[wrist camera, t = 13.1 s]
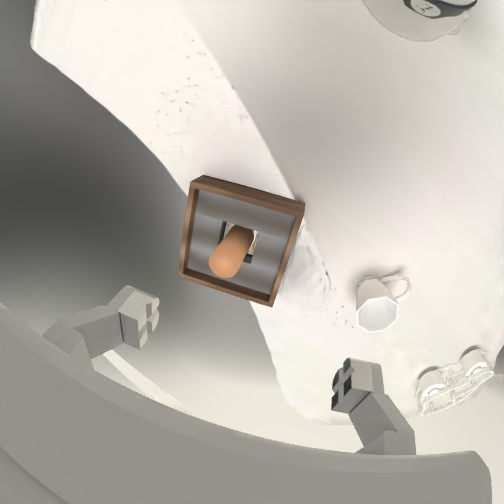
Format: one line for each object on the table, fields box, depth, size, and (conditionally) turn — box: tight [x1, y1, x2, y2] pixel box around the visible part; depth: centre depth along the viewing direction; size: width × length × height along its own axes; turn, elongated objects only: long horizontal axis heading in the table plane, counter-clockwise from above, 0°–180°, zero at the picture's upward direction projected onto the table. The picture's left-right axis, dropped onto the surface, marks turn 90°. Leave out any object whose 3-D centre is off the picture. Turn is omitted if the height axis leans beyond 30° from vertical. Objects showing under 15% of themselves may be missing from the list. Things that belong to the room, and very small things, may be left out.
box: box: [178, 175, 305, 307], centre depth 43 cm, size 16×16×5 cm
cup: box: [356, 275, 411, 333], centre depth 40 cm, size 7×10×8 cm
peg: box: [209, 225, 254, 278], centre depth 40 cm, size 4×4×10 cm
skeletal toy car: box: [415, 349, 494, 416], centre depth 45 cm, size 20×11×7 cm, turn 123°
